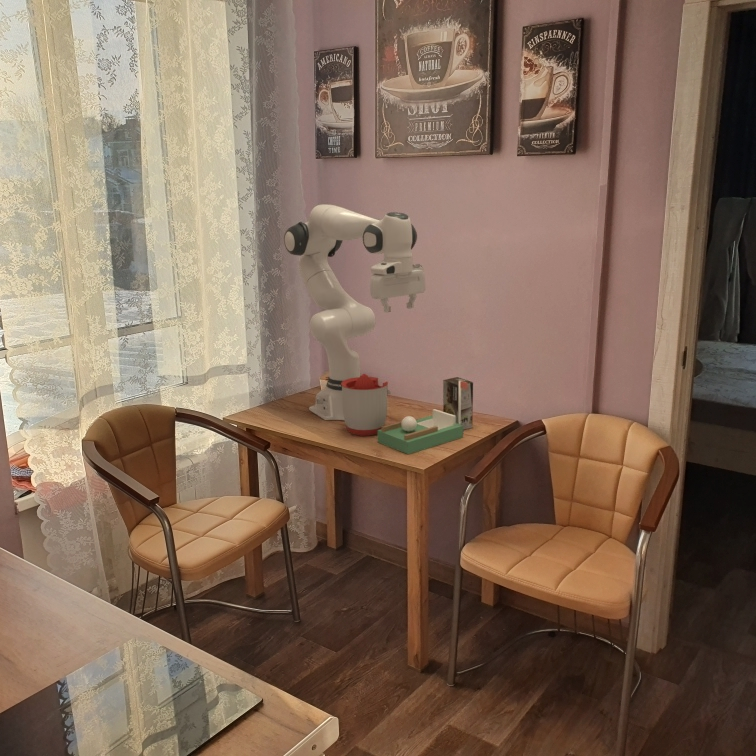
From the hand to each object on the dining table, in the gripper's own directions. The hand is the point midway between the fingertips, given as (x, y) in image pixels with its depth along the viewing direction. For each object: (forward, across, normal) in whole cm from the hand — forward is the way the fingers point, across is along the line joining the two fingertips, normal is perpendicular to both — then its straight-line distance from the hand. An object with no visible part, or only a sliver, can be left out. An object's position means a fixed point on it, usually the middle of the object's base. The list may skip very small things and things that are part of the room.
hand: (398, 310), depth 245 cm
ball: (+38, +1, +6) cm, 39 cm away
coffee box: (+43, -23, +4) cm, 49 cm away
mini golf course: (+42, -4, +6) cm, 43 cm away
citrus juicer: (+43, +3, -13) cm, 45 cm away
